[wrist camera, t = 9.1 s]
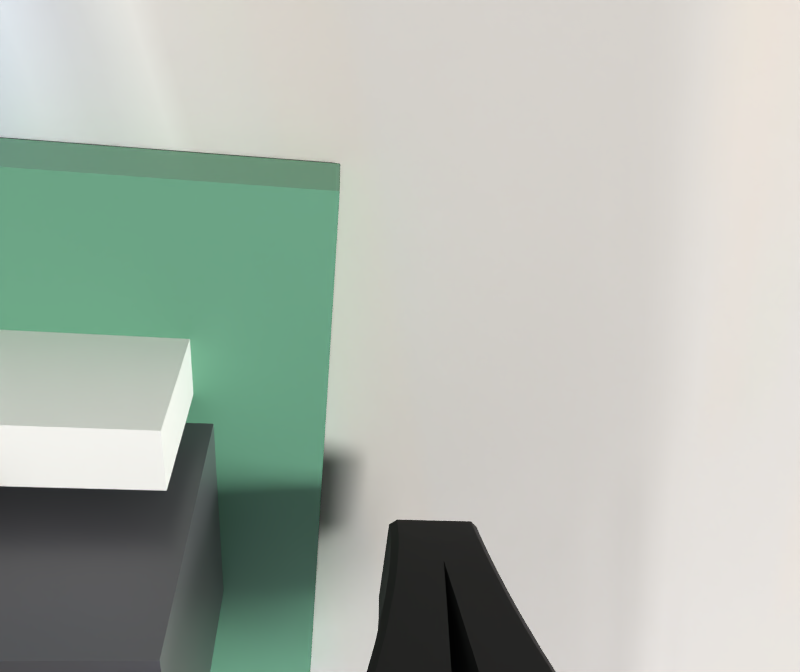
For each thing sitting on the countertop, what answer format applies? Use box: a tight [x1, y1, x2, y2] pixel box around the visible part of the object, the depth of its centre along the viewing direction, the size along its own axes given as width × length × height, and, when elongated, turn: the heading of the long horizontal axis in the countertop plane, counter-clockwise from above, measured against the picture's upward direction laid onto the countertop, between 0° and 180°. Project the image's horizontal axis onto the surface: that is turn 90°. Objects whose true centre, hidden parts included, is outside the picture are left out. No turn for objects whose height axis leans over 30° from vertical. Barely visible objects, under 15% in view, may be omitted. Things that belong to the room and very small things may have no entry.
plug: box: [0, 423, 223, 672], centre depth 10 cm, size 4×5×4 cm
